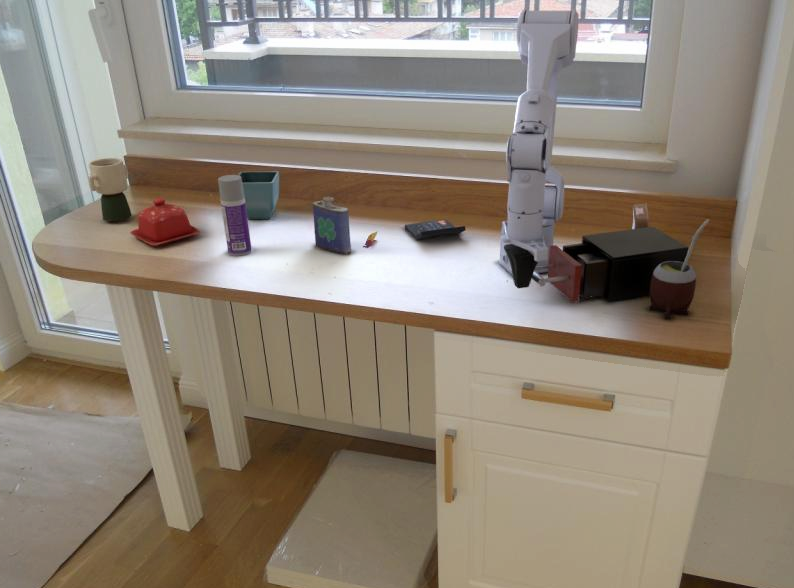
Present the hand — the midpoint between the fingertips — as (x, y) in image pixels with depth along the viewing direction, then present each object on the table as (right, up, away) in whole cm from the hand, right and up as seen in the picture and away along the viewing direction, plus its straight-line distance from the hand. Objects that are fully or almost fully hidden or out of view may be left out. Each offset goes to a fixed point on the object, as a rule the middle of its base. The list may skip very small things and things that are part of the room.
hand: (521, 286), depth 137 cm
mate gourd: (+24, -5, -3) cm, 25 cm away
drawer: (+11, 0, +4) cm, 11 cm away
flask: (-35, +10, +25) cm, 44 cm away
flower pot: (-53, +21, +44) cm, 72 cm away
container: (-54, +10, +25) cm, 60 cm away
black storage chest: (+20, +1, +6) cm, 21 cm away
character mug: (-85, +20, +44) cm, 98 cm away
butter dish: (-71, +14, +33) cm, 80 cm away
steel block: (+13, +1, +4) cm, 13 cm away
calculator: (-14, +14, +31) cm, 37 cm away
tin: (+25, +9, +20) cm, 34 cm away
